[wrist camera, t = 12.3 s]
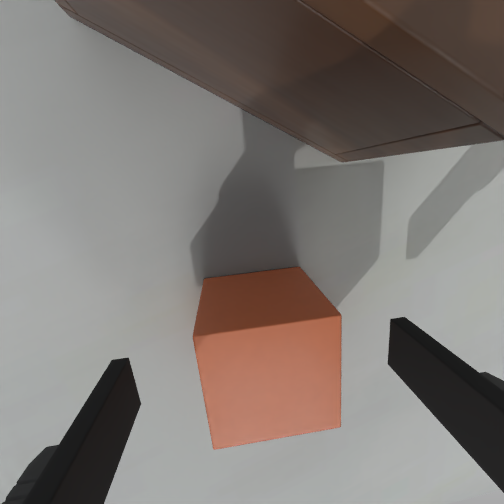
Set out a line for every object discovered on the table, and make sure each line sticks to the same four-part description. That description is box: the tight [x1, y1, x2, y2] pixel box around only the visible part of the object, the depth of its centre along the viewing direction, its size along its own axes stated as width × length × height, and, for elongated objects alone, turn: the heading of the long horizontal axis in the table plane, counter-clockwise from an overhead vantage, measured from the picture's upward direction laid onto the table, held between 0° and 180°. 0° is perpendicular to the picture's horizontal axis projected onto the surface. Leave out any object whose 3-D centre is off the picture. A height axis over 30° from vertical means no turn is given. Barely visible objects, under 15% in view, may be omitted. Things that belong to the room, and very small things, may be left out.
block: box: [193, 267, 341, 450], centre depth 14 cm, size 6×6×6 cm
